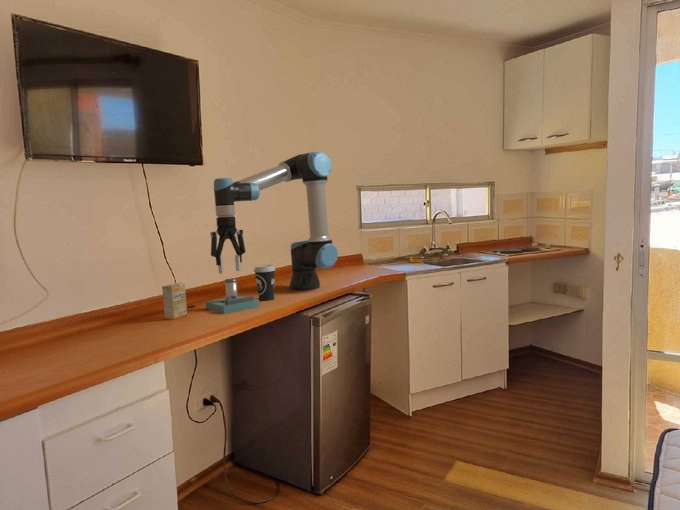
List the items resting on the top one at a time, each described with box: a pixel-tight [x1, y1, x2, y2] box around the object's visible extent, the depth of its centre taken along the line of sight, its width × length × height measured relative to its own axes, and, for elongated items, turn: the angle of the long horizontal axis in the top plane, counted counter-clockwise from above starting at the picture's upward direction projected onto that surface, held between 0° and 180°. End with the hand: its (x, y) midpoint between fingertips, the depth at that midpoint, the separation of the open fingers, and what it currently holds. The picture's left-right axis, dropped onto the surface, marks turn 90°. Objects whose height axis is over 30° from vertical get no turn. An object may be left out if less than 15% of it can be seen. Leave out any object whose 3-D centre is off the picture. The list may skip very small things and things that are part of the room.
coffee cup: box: [253, 264, 276, 302], centre depth 231 cm, size 10×10×15 cm
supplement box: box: [161, 282, 188, 320], centre depth 203 cm, size 8×5×13 cm, turn 160°
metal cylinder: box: [224, 277, 239, 301], centre depth 216 cm, size 5×5×12 cm
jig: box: [205, 295, 260, 314], centre depth 216 cm, size 16×16×5 cm
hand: (229, 271), depth 215 cm, fingers open, 7 cm apart
